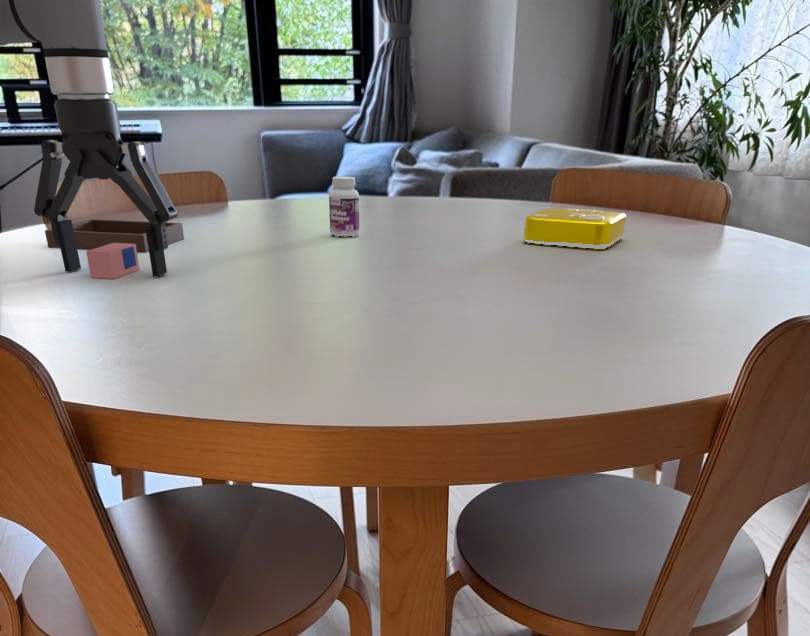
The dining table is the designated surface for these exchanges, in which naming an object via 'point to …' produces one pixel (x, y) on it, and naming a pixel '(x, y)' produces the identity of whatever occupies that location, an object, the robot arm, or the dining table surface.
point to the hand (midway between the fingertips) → (116, 272)
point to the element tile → (574, 226)
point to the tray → (115, 233)
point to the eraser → (112, 260)
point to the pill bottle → (344, 207)
